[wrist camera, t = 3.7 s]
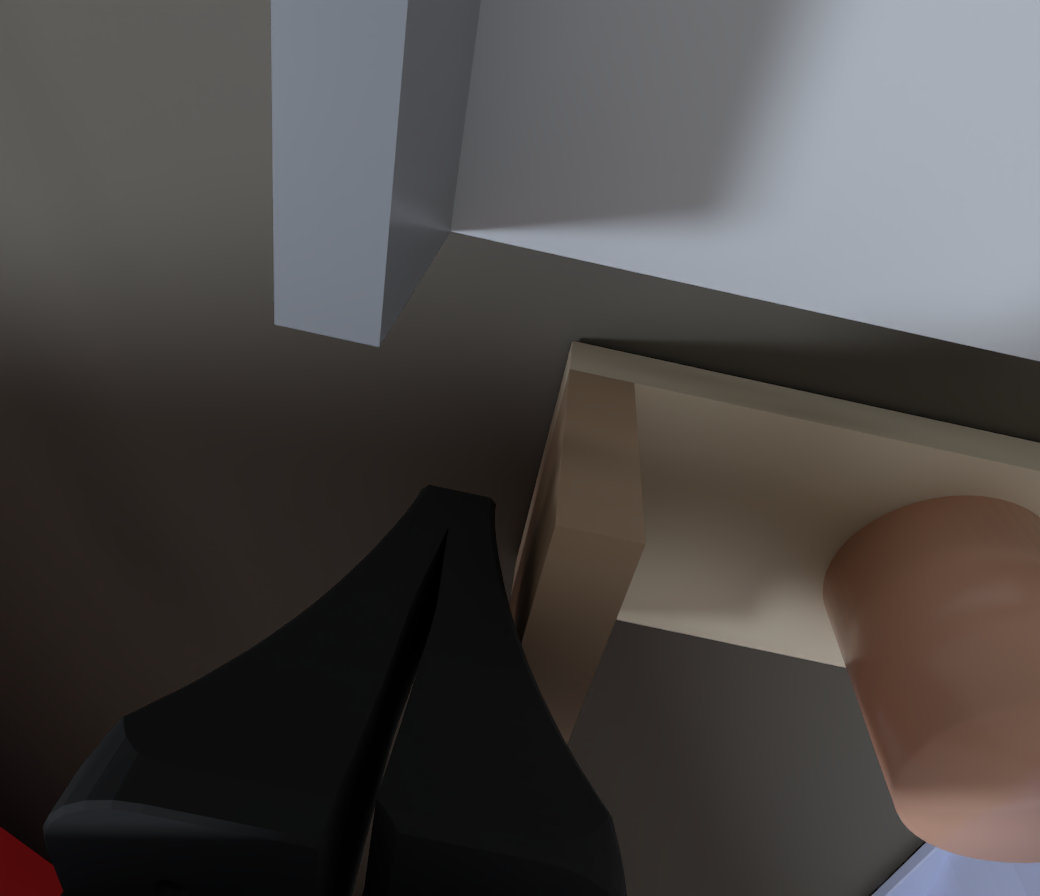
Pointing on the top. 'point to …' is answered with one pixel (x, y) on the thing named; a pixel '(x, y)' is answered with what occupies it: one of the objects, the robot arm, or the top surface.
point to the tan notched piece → (717, 509)
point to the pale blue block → (667, 152)
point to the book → (25, 870)
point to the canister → (949, 667)
